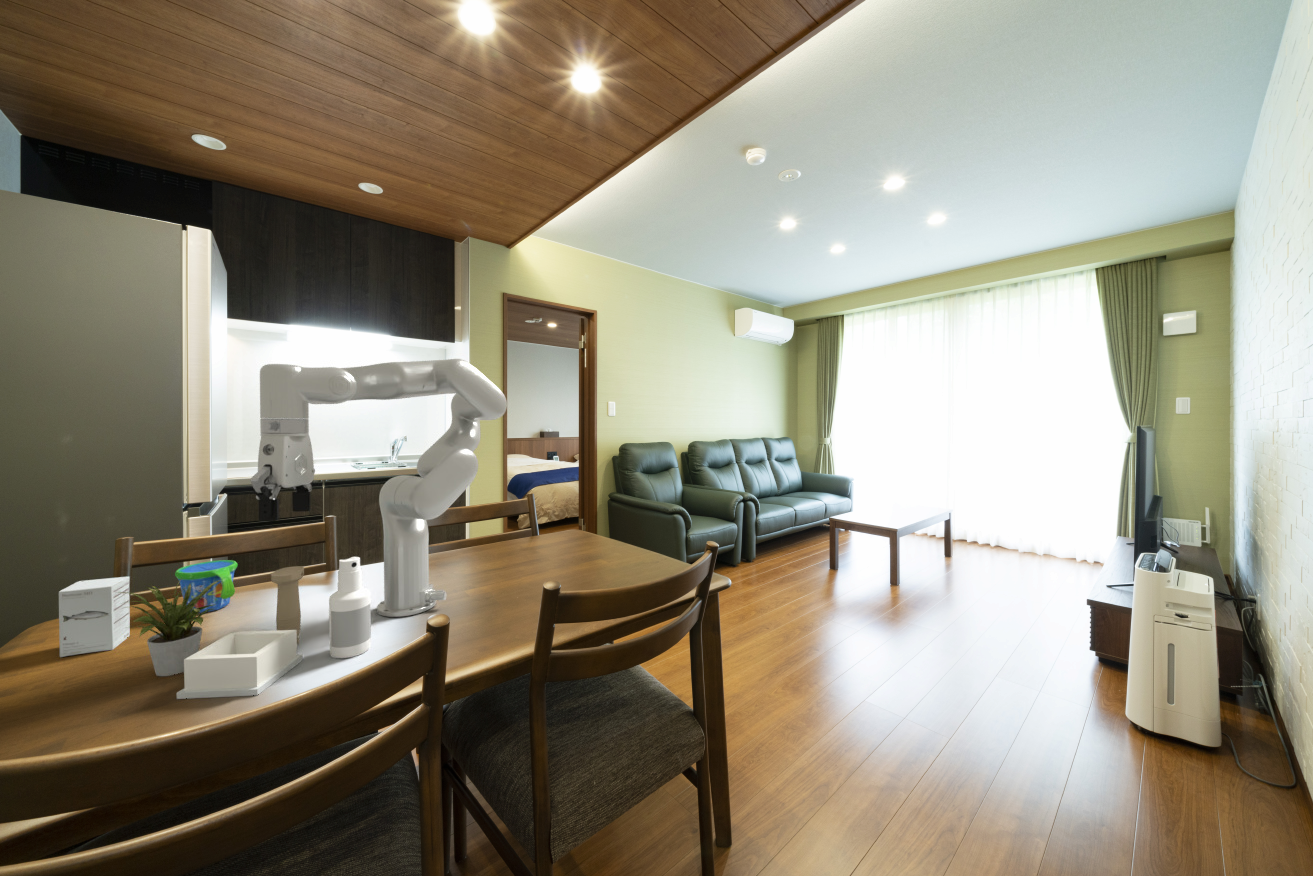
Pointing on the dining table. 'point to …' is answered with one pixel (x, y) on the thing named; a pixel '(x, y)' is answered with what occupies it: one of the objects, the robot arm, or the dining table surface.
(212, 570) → the snack cup
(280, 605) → the handle
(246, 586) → the dining table surface
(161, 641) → the house plant
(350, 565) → the spray bottle
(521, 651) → the dining table surface
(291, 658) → the box
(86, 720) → the dining table surface
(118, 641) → the supplement box
